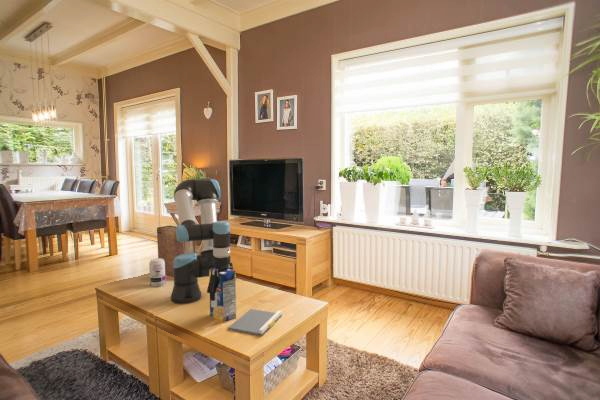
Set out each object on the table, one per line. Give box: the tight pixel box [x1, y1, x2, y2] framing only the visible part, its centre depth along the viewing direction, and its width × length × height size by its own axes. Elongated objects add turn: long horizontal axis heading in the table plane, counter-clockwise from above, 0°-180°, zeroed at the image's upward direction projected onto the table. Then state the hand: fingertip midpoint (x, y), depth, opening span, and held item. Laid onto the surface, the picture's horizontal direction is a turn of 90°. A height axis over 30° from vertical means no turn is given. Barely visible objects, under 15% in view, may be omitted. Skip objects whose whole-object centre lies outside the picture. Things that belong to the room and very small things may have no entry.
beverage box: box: [208, 268, 237, 324], centre depth 153 cm, size 7×11×22 cm, turn 46°
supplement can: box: [148, 257, 166, 288], centre depth 195 cm, size 8×8×15 cm
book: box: [156, 225, 197, 278], centre depth 214 cm, size 25×9×30 cm, turn 58°
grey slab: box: [227, 308, 283, 337], centre depth 148 cm, size 16×20×2 cm
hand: (222, 301), depth 153 cm, fingers open, 13 cm apart
